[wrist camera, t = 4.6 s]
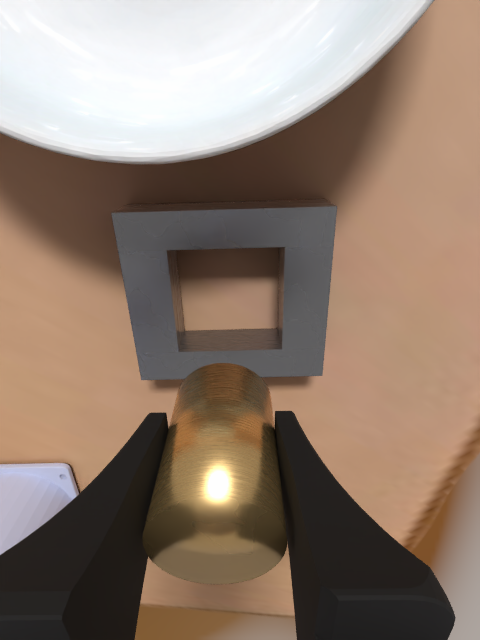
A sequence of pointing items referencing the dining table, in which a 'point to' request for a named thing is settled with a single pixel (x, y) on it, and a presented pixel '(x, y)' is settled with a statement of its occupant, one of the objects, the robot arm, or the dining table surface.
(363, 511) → the robot arm
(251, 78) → the serving bowl
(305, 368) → the frame
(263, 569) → the brass cylinder
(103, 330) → the dining table surface
